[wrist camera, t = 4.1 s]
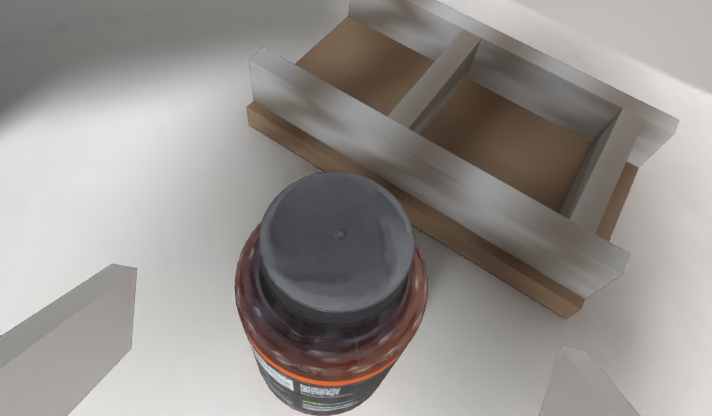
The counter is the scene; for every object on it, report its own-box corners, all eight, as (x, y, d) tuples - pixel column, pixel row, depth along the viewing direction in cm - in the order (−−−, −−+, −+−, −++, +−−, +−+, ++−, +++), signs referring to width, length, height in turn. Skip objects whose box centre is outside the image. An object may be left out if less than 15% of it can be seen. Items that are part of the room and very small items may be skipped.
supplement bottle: (354, 268, 24) (392, 116, 14) (411, 381, 21) (504, 291, 12) (238, 315, 22) (189, 177, 12) (285, 445, 19) (271, 401, 10)
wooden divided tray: (249, 125, 28) (240, 65, 24) (360, 21, 33) (368, -40, 29) (565, 319, 23) (617, 285, 20) (631, 162, 29) (681, 113, 25)
